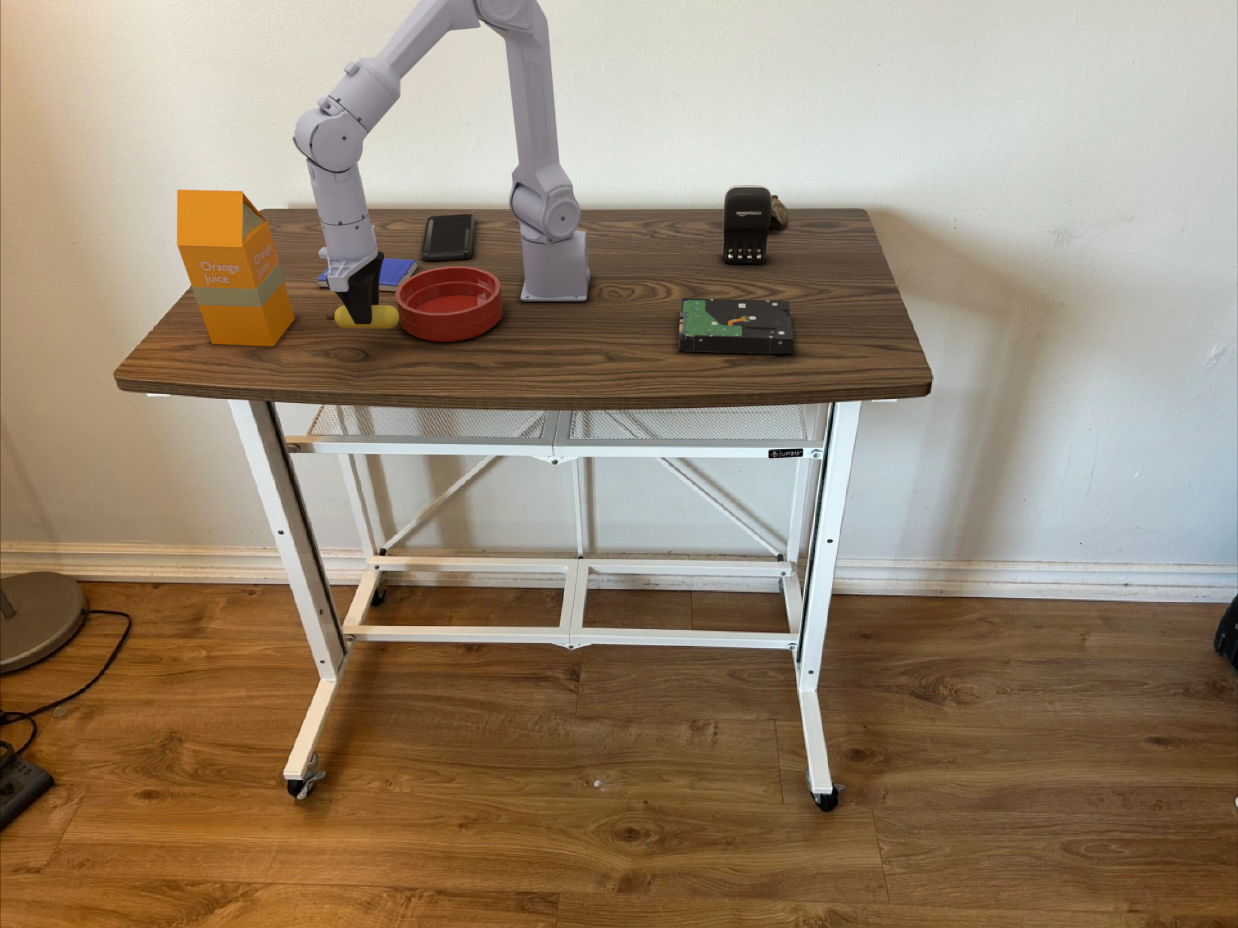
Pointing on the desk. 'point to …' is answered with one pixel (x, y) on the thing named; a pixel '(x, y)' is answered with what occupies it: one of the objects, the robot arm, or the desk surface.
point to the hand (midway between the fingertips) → (366, 315)
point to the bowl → (449, 303)
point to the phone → (448, 237)
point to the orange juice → (232, 267)
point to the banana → (380, 318)
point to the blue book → (386, 274)
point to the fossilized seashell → (778, 212)
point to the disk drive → (735, 326)
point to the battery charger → (746, 224)
